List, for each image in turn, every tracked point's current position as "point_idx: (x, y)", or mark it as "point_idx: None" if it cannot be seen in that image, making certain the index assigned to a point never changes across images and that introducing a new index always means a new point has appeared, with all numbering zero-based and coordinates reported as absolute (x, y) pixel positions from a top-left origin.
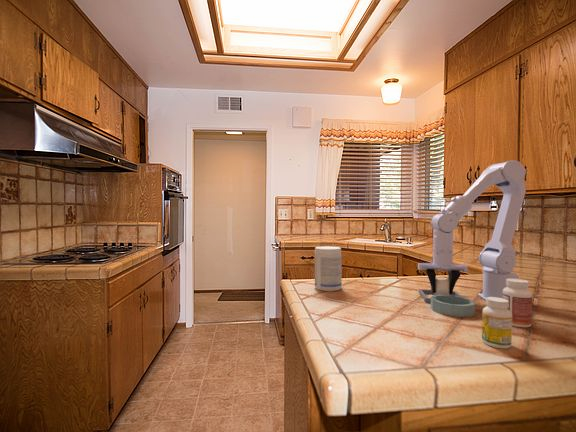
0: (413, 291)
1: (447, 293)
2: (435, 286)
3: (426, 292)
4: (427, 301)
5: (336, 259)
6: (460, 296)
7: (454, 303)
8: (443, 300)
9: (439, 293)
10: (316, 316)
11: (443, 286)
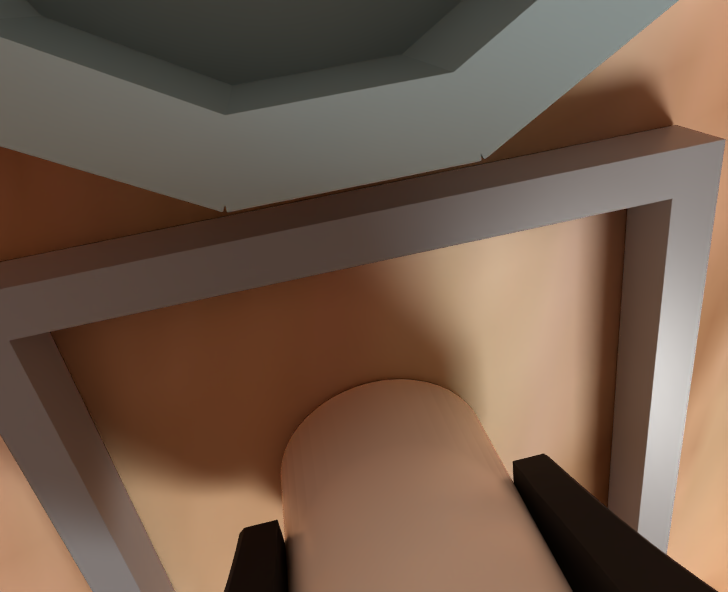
0: None
1: (322, 490)
2: (563, 575)
3: None
4: (653, 132)
5: None
6: (108, 549)
7: (191, 69)
8: (424, 53)
9: (458, 445)
10: None
11: (434, 574)
